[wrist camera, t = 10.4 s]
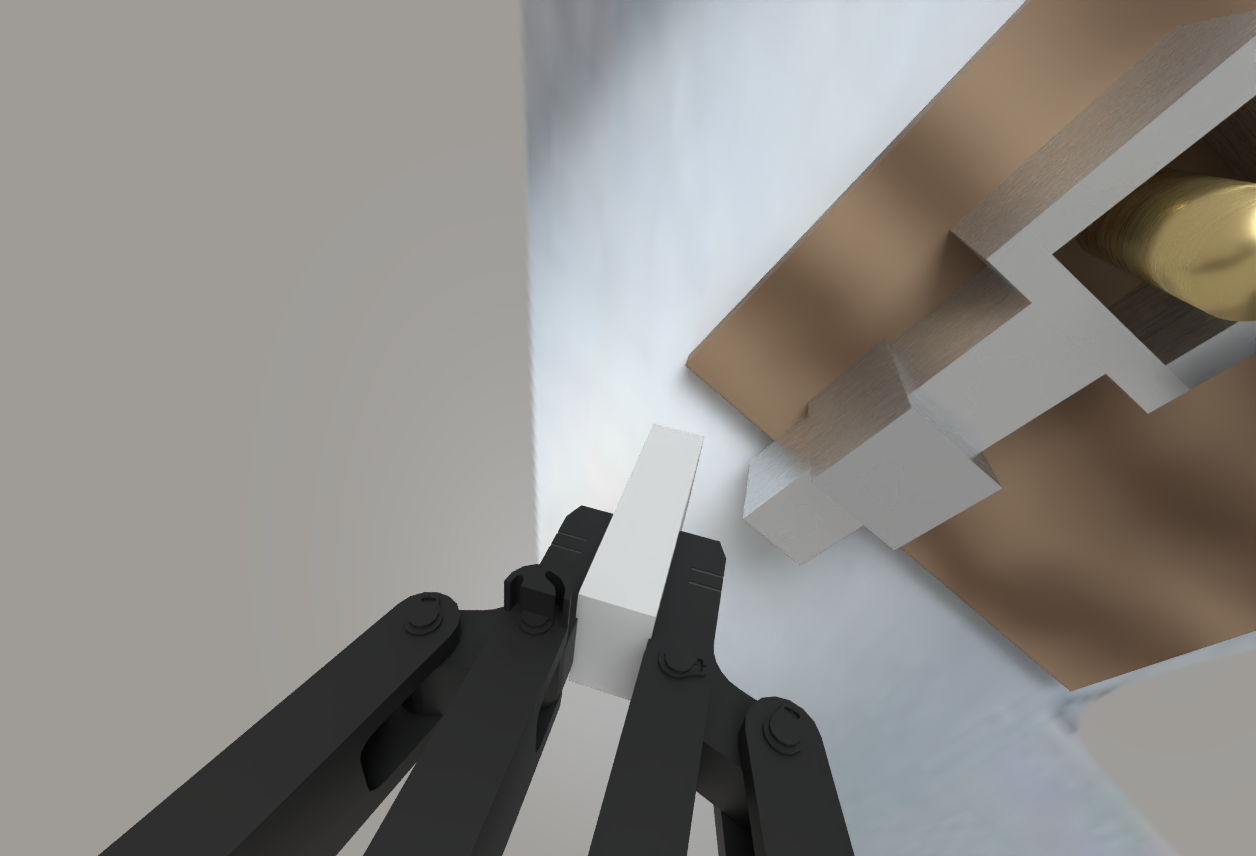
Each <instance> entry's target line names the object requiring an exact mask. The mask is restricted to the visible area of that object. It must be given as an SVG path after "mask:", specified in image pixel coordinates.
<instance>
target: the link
mask: <svg viewBox="0 0 1256 856" xmlns="http://www.w3.org/2000/svg"><path fill="white" fill-rule="evenodd" d="M1200 138H1201V139H1202V140H1203V141H1204V142H1205V144H1206V145H1207V146H1208V147H1209V148H1210V149H1211V150H1212V151H1213V152H1214V153H1215V154H1216V155H1217V156H1218V157H1219V159H1220V160H1221V161H1222V162H1223V163H1224V164H1225V165H1226V166H1227V167H1228V168H1229V169H1230V170H1231V171H1232V173H1233V174H1234V175H1235V176H1236V177H1237V178H1238V179H1239V180H1240V181H1245V182H1251V183H1256V10H1253V11H1248V12H1244V13H1239V14H1234V15H1229V16H1225V17H1220V18H1215V19H1211V20H1206V21H1201V22H1196V23H1192V24H1187V25H1182V26H1178V27H1175V28H1174V29H1173V30H1172V31H1170V32H1169V33H1168V34H1167V35H1166V36H1165V37H1164V38H1163V39H1162V40H1160V41H1159V42H1158V43H1157V44H1156V45H1155V46H1154V47H1153V48H1152V49H1150V50H1149V51H1148V52H1147V53H1146V54H1145V55H1144V56H1143V57H1141V58H1140V59H1139V60H1138V61H1137V62H1136V63H1135V64H1134V65H1133V66H1131V67H1130V68H1129V69H1128V70H1127V71H1126V72H1125V73H1124V74H1123V75H1121V76H1120V77H1119V78H1118V79H1117V80H1116V81H1115V82H1114V83H1113V84H1111V85H1110V86H1109V87H1108V88H1107V89H1106V90H1105V91H1104V92H1103V93H1101V94H1100V95H1099V96H1098V97H1097V98H1096V99H1095V100H1094V101H1093V102H1091V103H1090V104H1089V105H1088V106H1087V107H1086V108H1085V109H1084V110H1082V111H1081V112H1080V113H1079V114H1078V115H1077V116H1076V117H1075V118H1074V119H1072V120H1071V121H1070V122H1069V123H1068V124H1067V125H1066V126H1065V127H1064V128H1062V129H1061V130H1060V131H1059V132H1058V133H1057V134H1056V135H1055V136H1054V137H1052V138H1051V139H1050V140H1049V141H1048V142H1047V143H1046V144H1045V145H1044V146H1042V147H1041V148H1040V149H1039V150H1038V151H1037V152H1036V153H1035V154H1034V155H1032V156H1031V157H1030V158H1029V159H1028V160H1027V161H1026V162H1025V163H1023V164H1022V165H1021V166H1020V167H1019V168H1018V169H1017V170H1016V171H1015V172H1013V173H1012V174H1011V175H1010V176H1009V177H1008V178H1007V179H1006V180H1005V181H1003V182H1002V183H1001V184H1000V185H999V186H998V187H997V188H996V189H995V190H993V191H992V192H991V193H990V194H989V195H988V196H987V197H986V198H985V199H983V200H982V201H981V202H980V203H979V204H978V205H977V206H976V207H975V208H973V209H972V210H971V211H970V212H969V213H968V214H967V215H966V216H964V217H963V218H962V219H961V220H960V221H959V222H958V223H957V224H956V225H954V226H953V227H952V228H951V229H950V231H951V232H952V233H953V234H954V235H956V236H957V237H958V238H959V239H960V240H961V241H962V242H963V243H964V244H965V245H966V246H967V247H968V248H969V249H970V250H971V251H972V252H973V253H974V254H975V255H977V256H978V257H979V258H980V259H981V260H982V261H983V262H984V263H985V264H986V265H987V266H986V267H985V268H983V269H982V270H981V271H980V272H979V273H977V274H976V275H975V276H974V277H973V278H971V279H970V280H969V281H968V282H966V283H965V284H964V285H963V286H962V287H960V288H959V289H958V290H957V291H956V292H954V293H953V294H952V295H951V296H949V297H948V298H947V299H946V300H945V301H943V302H942V303H941V304H940V305H939V306H937V307H936V308H935V309H934V310H932V311H931V312H930V313H929V314H928V315H926V316H925V317H924V318H923V319H922V320H920V321H919V322H918V323H917V324H915V325H914V326H913V327H912V328H911V329H909V330H908V331H907V332H906V333H905V334H903V335H902V336H901V337H900V338H898V339H897V340H896V341H895V342H894V343H890V342H889V341H888V340H887V339H886V338H883V339H882V340H881V341H880V342H879V343H877V344H876V345H875V346H874V347H873V348H871V349H870V350H869V351H868V352H867V353H866V354H864V355H863V356H862V357H861V358H860V359H858V360H857V361H856V362H855V363H854V364H852V365H851V366H850V367H849V368H848V369H846V370H845V371H844V372H843V373H842V374H840V375H839V376H838V377H837V378H836V379H835V380H833V381H832V382H831V383H830V384H829V385H827V386H826V387H825V388H824V389H823V390H821V391H820V392H819V393H818V394H817V395H815V396H814V397H813V398H812V399H811V400H809V401H808V413H807V414H806V415H805V416H804V417H803V418H801V419H800V420H799V421H798V422H797V423H795V424H794V425H793V426H792V427H790V428H789V429H788V430H787V431H786V432H784V433H783V434H782V435H781V436H780V437H778V438H777V439H776V440H775V441H773V442H772V443H771V444H770V445H769V446H767V447H766V448H765V449H764V450H763V451H761V452H760V453H759V454H758V455H756V456H755V457H754V458H753V459H752V460H750V466H749V474H748V481H747V489H746V496H745V504H744V512H743V520H744V521H745V522H746V523H748V524H749V525H750V526H751V527H753V528H754V529H755V530H756V531H758V532H759V533H760V534H761V535H763V536H764V537H765V538H766V539H768V540H769V541H770V542H771V543H773V544H774V545H775V546H776V547H778V548H779V549H780V550H781V551H783V552H784V553H785V554H786V555H788V556H789V557H790V558H791V559H793V560H794V561H795V562H796V563H798V564H799V565H801V564H803V563H805V562H806V561H808V560H809V559H811V558H813V557H814V556H816V555H817V554H819V553H821V552H822V551H824V550H825V549H827V548H828V547H830V546H832V545H833V544H835V543H836V542H838V541H840V540H841V539H843V538H844V537H846V536H848V535H849V534H851V533H852V532H854V531H856V530H857V529H859V528H860V527H862V526H865V527H866V528H867V529H869V530H870V531H871V532H872V533H873V534H875V535H876V536H877V537H878V538H879V539H881V540H882V541H883V542H884V543H885V544H887V545H888V546H889V547H890V548H891V549H893V550H896V549H898V548H899V547H901V546H903V545H905V544H906V543H908V542H910V541H912V540H913V539H915V538H917V537H919V536H920V535H922V534H924V533H926V532H927V531H929V530H931V529H933V528H934V527H936V526H938V525H939V524H941V523H943V522H945V521H946V520H948V519H950V518H952V517H953V516H955V515H957V514H959V513H960V512H962V511H964V510H966V509H967V508H969V507H971V506H973V505H974V504H976V503H978V502H980V501H981V500H983V499H985V498H987V497H988V496H990V495H992V494H993V493H995V492H997V491H999V490H1000V489H1002V486H1001V484H1000V482H999V481H998V479H997V477H996V475H995V473H994V471H993V469H992V468H991V466H990V464H989V462H988V460H987V458H986V456H985V455H984V453H983V450H985V449H986V448H988V447H990V446H991V445H993V444H994V443H996V442H998V441H999V440H1001V439H1002V438H1004V437H1006V436H1007V435H1009V434H1010V433H1012V432H1013V431H1015V430H1017V429H1018V428H1020V427H1021V426H1023V425H1025V424H1026V423H1028V422H1029V421H1031V420H1033V419H1034V418H1036V417H1037V416H1039V415H1041V414H1042V413H1044V412H1045V411H1047V410H1049V409H1050V408H1052V407H1053V406H1055V405H1057V404H1058V403H1060V402H1061V401H1063V400H1065V399H1066V398H1068V397H1069V396H1071V395H1072V394H1074V393H1076V392H1077V391H1079V390H1080V389H1082V388H1084V387H1085V386H1087V385H1088V384H1090V383H1092V382H1093V381H1095V380H1096V379H1098V378H1100V377H1101V376H1103V375H1104V376H1105V377H1107V378H1108V379H1109V380H1110V381H1111V382H1112V383H1113V384H1115V385H1116V386H1117V387H1118V388H1119V389H1120V390H1121V391H1123V392H1124V393H1125V394H1126V395H1127V396H1128V397H1129V398H1131V399H1132V400H1133V401H1134V402H1135V403H1136V404H1137V405H1139V406H1140V407H1141V408H1142V409H1143V410H1144V411H1145V412H1147V413H1150V412H1152V411H1154V410H1156V409H1157V408H1159V407H1161V406H1163V405H1164V404H1166V403H1168V402H1170V401H1171V400H1173V399H1175V398H1177V397H1179V396H1180V395H1182V394H1184V393H1186V392H1187V391H1189V390H1191V389H1193V388H1194V387H1196V386H1198V385H1200V384H1201V383H1203V382H1205V381H1207V380H1209V379H1210V378H1212V377H1214V376H1216V375H1217V374H1219V373H1221V372H1223V371H1224V370H1226V369H1228V368H1230V367H1232V366H1233V365H1235V364H1237V363H1239V362H1240V361H1242V360H1244V359H1246V358H1247V357H1249V356H1251V355H1253V354H1254V353H1256V321H1247V322H1243V321H1229V320H1225V319H1220V318H1218V317H1215V316H1213V315H1210V314H1208V313H1206V312H1204V311H1202V310H1200V309H1198V308H1196V307H1194V306H1192V305H1190V304H1188V303H1186V302H1184V301H1182V300H1180V299H1178V298H1177V297H1175V296H1173V295H1171V294H1169V293H1167V292H1165V291H1163V290H1161V289H1159V288H1157V287H1155V286H1153V285H1151V284H1149V283H1147V282H1143V283H1142V284H1140V285H1139V286H1137V287H1136V288H1134V289H1133V290H1132V291H1130V292H1129V293H1127V294H1126V295H1124V296H1123V297H1121V298H1120V299H1118V300H1117V301H1116V302H1114V303H1113V304H1111V305H1110V306H1108V307H1107V308H1106V307H1105V306H1104V305H1103V304H1102V303H1101V302H1100V301H1099V300H1098V299H1097V298H1096V297H1095V296H1094V295H1093V294H1092V293H1091V292H1090V291H1089V290H1088V289H1087V288H1086V287H1084V286H1083V285H1082V284H1081V283H1080V282H1079V281H1078V280H1077V279H1076V278H1075V277H1074V276H1073V275H1072V274H1071V273H1070V272H1069V271H1068V270H1067V269H1066V268H1065V267H1064V266H1063V265H1062V264H1061V263H1060V262H1059V261H1058V260H1057V259H1056V258H1055V257H1054V256H1053V255H1052V254H1053V253H1054V252H1056V251H1057V250H1058V249H1059V248H1061V247H1062V246H1063V245H1064V244H1066V243H1067V242H1068V241H1070V240H1071V239H1072V238H1073V237H1075V236H1076V235H1077V234H1079V233H1080V232H1081V231H1082V230H1084V229H1085V228H1086V227H1088V226H1089V225H1090V224H1091V223H1093V222H1094V221H1095V220H1096V219H1098V218H1099V217H1100V216H1102V215H1103V214H1104V213H1105V212H1107V211H1108V210H1109V209H1111V208H1112V207H1113V206H1114V205H1116V204H1117V203H1118V202H1120V201H1121V200H1122V199H1123V198H1125V197H1126V196H1127V195H1128V194H1130V193H1131V192H1132V191H1134V190H1135V189H1136V188H1137V187H1139V186H1140V185H1141V184H1143V183H1144V182H1145V181H1146V180H1148V179H1149V178H1150V177H1152V176H1153V175H1154V174H1155V173H1157V172H1158V171H1159V170H1160V169H1162V168H1163V167H1164V166H1166V165H1167V164H1168V163H1169V162H1171V161H1172V160H1173V159H1175V158H1176V157H1177V156H1178V155H1180V154H1181V153H1182V152H1184V151H1185V150H1186V149H1187V148H1189V147H1190V146H1191V145H1192V144H1194V143H1195V142H1196V141H1198V140H1199V139H1200Z"/></svg>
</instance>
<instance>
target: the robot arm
mask: <svg viewBox="0 0 1256 856" xmlns="http://www.w3.org/2000/svg"><path fill="white" fill-rule="evenodd" d="M703 440H704V436H700V435H696V434H692V433H687V432H683V431H679V430H675V429H671V428H667V427H663V426H659V425H654V424H653V426H652V428H651V431H650V433H649V435H648V437H647V440H646V442H645V444H644V446H643V449H642V451H641V453H640V456H639V458H638V460H637V462H636V465H635V467H634V469H633V471H632V474H631V476H630V478H629V480H628V483H627V485H626V487H625V489H624V492H623V494H622V496H621V499H620V501H619V503H618V505H617V508H616V510H615V512H614V514H611V513H608V512H604V511H600V510H597V509H593V508H589V507H586V506H582V505H581V506H580V507H579V508H577V509H576V510H574V511H573V512H572V513H570V514H569V515H567V516H566V518H565V520H564V522H563V523H562V525H561V527H560V529H559V531H558V534H556V536H555V538H554V540H553V541H552V544H551V546H550V547H549V549H548V550H547V552H546V554H545V556H544V558H543V559H542V561H541V563H540V564H534V565H529V566H523V567H521V568H519V569H517V570H516V571H513V572H512V573H511V574H510V575H509V576H508V577H507V578H506V579H505V581H504V607H501V608H497V609H493V610H459V609H458V606H457V603H455V602H454V601H453V600H452V599H451V598H450V597H449V596H446V595H443V594H441V593H437V592H424V593H421V594H417V595H413V596H410V597H408V598H407V599H405V600H404V601H402V602H400V603H399V604H397V605H396V606H395V607H394V608H393V609H392V610H390V611H389V612H388V613H387V614H386V615H384V616H383V617H382V618H381V619H380V620H378V621H377V622H376V623H375V624H374V625H372V626H371V627H370V628H369V629H368V630H366V631H365V632H364V633H363V634H362V635H361V636H359V637H358V638H357V639H356V640H355V641H353V642H352V643H351V644H350V645H349V646H347V648H345V649H344V650H343V651H341V652H340V653H339V654H338V655H337V656H335V657H334V658H333V659H332V660H331V661H330V662H328V663H327V664H326V665H325V666H324V667H323V668H321V669H320V670H319V671H318V672H316V673H315V674H314V675H313V676H312V677H311V678H309V679H308V680H307V681H306V682H305V683H303V684H302V685H301V686H300V687H299V688H297V689H296V690H295V691H294V692H293V693H291V695H289V696H288V697H287V698H285V699H284V700H283V701H282V702H281V703H279V704H278V705H277V706H276V707H275V708H274V709H272V710H271V711H270V712H269V713H268V714H266V715H265V716H264V717H263V718H262V719H260V720H259V721H258V722H257V723H256V724H254V725H253V726H252V727H251V728H250V729H249V730H247V731H246V732H245V733H244V734H243V735H241V736H240V737H239V738H238V739H237V740H236V741H234V742H233V743H232V744H231V745H229V746H228V747H227V748H226V749H225V750H223V751H222V752H221V753H220V754H219V755H218V756H216V757H215V758H214V759H213V760H212V761H210V762H209V763H208V764H207V765H206V766H204V767H203V768H202V769H201V770H200V771H198V772H197V773H196V774H195V775H194V776H193V777H191V778H190V779H189V780H188V781H187V782H185V783H184V784H183V785H182V786H181V787H179V788H178V789H177V790H176V791H175V792H173V793H172V794H171V795H170V796H169V797H167V798H166V799H165V800H164V801H163V802H162V803H160V804H159V805H158V806H157V807H156V808H154V809H153V810H152V811H151V812H150V813H148V814H147V815H146V816H145V817H144V818H142V819H141V820H140V821H139V822H138V823H136V825H134V826H133V827H132V828H130V829H129V830H128V831H127V832H126V833H125V834H123V835H122V836H121V837H120V838H119V839H118V840H116V841H115V842H114V843H113V844H111V845H110V846H109V847H108V848H107V849H105V850H104V851H103V852H102V853H101V854H100V855H98V856H336V855H337V854H338V853H339V851H340V850H341V849H342V848H343V847H344V846H345V844H346V843H347V842H348V841H349V840H350V839H351V837H352V836H353V835H354V834H355V833H356V832H357V831H358V829H359V828H360V827H361V826H362V825H363V823H364V822H365V821H366V820H367V819H368V818H369V817H370V815H371V814H372V813H373V812H374V811H375V810H376V808H377V807H378V806H379V805H380V804H381V803H382V802H383V800H384V799H385V798H386V797H387V796H388V795H389V793H390V792H391V791H392V790H393V789H394V788H395V786H396V785H397V784H398V783H399V782H400V781H401V779H402V778H403V777H404V776H405V775H406V774H407V772H408V771H409V770H410V769H411V768H412V767H413V766H414V764H415V763H416V762H417V763H416V764H415V766H414V768H413V770H412V771H411V773H410V775H409V777H408V778H407V780H406V782H405V784H404V785H403V787H402V789H401V791H400V792H399V794H398V796H397V798H396V799H395V801H394V803H393V804H392V806H391V808H390V810H389V811H388V814H387V815H386V817H385V819H384V820H383V822H382V824H381V825H380V827H379V829H378V831H377V832H376V834H375V836H374V838H373V839H372V841H371V843H370V845H369V846H368V848H367V850H366V852H365V853H364V855H363V856H502V855H503V852H504V850H505V847H506V845H507V842H508V839H509V837H510V834H511V832H512V829H513V826H514V824H515V821H516V819H517V816H518V814H519V811H520V808H521V806H522V803H523V801H524V798H525V795H526V793H527V790H528V787H529V785H530V782H531V780H532V777H533V775H534V772H535V769H536V767H537V764H538V761H539V759H540V757H541V754H542V751H543V749H544V746H545V744H546V741H547V738H548V736H549V733H550V731H551V728H552V725H553V723H554V720H555V718H556V715H557V713H558V710H559V707H560V703H561V697H562V689H563V687H564V684H565V681H566V679H567V677H568V674H569V671H570V676H569V681H573V682H576V683H579V684H582V685H585V686H588V687H591V688H594V689H597V690H600V691H603V692H606V693H610V694H612V695H616V696H619V697H622V698H625V699H628V700H631V702H630V705H629V709H628V712H627V716H626V720H625V724H624V727H623V731H622V734H621V738H620V741H619V745H618V749H617V752H616V756H615V759H614V763H613V767H612V771H611V774H610V778H609V781H608V785H607V788H606V792H605V796H604V799H603V803H602V806H601V810H600V814H599V817H598V821H597V825H596V828H595V832H594V835H593V839H592V843H591V846H590V851H589V854H588V856H687V850H688V843H689V836H690V829H691V822H692V815H693V807H694V801H695V794H696V791H697V792H698V793H699V794H701V795H702V796H703V797H705V798H706V799H707V800H708V801H710V802H711V803H712V804H713V805H714V814H715V825H716V834H717V844H718V854H719V856H854V852H853V849H852V845H851V842H850V838H849V834H848V831H847V827H846V824H845V820H844V817H843V813H842V809H841V806H840V802H839V799H838V795H837V791H836V788H835V784H834V781H833V777H832V774H831V770H830V766H829V763H828V759H827V756H826V752H825V749H824V745H823V741H822V738H821V735H820V733H819V731H818V729H817V727H816V724H815V722H814V721H813V720H812V719H811V718H810V716H809V715H808V714H807V713H806V712H805V711H804V710H803V709H802V708H801V707H799V706H797V705H796V704H794V703H793V702H791V701H790V700H786V699H783V698H779V697H766V698H761V699H759V700H758V701H757V700H755V699H754V698H752V697H751V696H749V695H748V694H746V693H745V692H743V691H742V690H740V689H738V688H737V687H736V686H735V685H733V684H732V683H731V682H730V681H729V680H728V679H727V678H726V677H725V676H724V674H723V673H722V672H721V670H720V668H719V667H718V665H717V663H716V660H715V656H714V639H715V632H716V625H717V618H718V611H719V604H720V597H721V590H722V584H723V576H724V570H725V563H726V557H725V554H724V552H723V549H722V546H721V544H720V542H719V541H716V540H712V539H708V538H705V537H701V536H697V535H694V534H690V533H686V532H682V531H681V530H682V527H683V523H684V519H685V515H686V511H687V507H688V503H689V499H690V495H691V490H692V486H693V482H694V478H695V474H696V469H697V465H698V461H699V457H700V452H701V448H702V444H703Z"/></svg>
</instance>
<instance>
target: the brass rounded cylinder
mask: <svg viewBox="0 0 1256 856" xmlns="http://www.w3.org/2000/svg"><path fill="white" fill-rule="evenodd" d="M1075 238H1076V240H1077V242H1078V244H1079V245H1080V247H1081V248H1082V249H1083V250H1084V251H1086V252H1087V253H1089V254H1091V255H1093V256H1095V257H1097V258H1099V259H1101V260H1103V261H1105V262H1107V263H1109V264H1111V265H1113V266H1115V267H1117V268H1119V269H1121V270H1123V271H1125V272H1127V273H1129V274H1131V275H1133V276H1135V277H1137V278H1139V279H1141V280H1143V281H1145V282H1147V283H1149V284H1151V285H1153V286H1155V287H1157V288H1159V289H1161V290H1163V291H1165V292H1167V293H1169V294H1171V295H1173V296H1175V297H1177V298H1178V299H1180V300H1182V301H1184V302H1186V303H1188V304H1190V305H1192V306H1194V307H1196V308H1198V309H1200V310H1202V311H1204V312H1206V313H1208V314H1210V315H1213V316H1215V317H1218V318H1220V319H1225V320H1229V321H1243V322H1247V321H1256V183H1251V182H1245V181H1239V180H1233V179H1227V178H1221V177H1215V176H1209V175H1203V174H1197V173H1191V172H1185V171H1179V170H1173V169H1167V168H1162V169H1160V170H1159V171H1158V172H1157V173H1155V174H1154V175H1153V176H1152V177H1150V178H1149V179H1148V180H1146V181H1145V182H1144V183H1143V184H1141V185H1140V186H1139V187H1137V188H1136V189H1135V190H1134V191H1132V192H1131V193H1130V194H1128V195H1127V196H1126V197H1125V198H1123V199H1122V200H1121V201H1120V202H1118V203H1117V204H1116V205H1114V206H1113V207H1112V208H1111V209H1109V210H1108V211H1107V212H1105V213H1104V214H1103V215H1102V216H1100V217H1099V218H1098V219H1096V220H1095V221H1094V222H1093V223H1091V224H1090V225H1089V226H1088V227H1086V228H1085V229H1084V230H1082V231H1081V232H1080V233H1079V234H1077V235H1076V236H1075Z"/></svg>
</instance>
